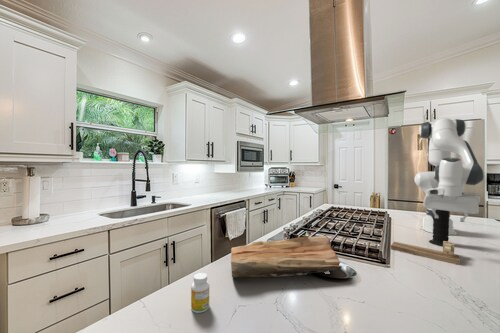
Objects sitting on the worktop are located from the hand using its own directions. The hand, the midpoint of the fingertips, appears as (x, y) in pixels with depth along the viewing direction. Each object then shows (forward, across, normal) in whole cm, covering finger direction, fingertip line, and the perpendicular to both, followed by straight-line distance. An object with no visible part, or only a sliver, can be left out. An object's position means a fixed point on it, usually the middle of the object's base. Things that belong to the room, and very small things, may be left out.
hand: (449, 220), depth 111 cm
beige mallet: (+17, 0, +5) cm, 18 cm away
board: (+17, +9, +8) cm, 21 cm away
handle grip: (+18, +4, -17) cm, 25 cm away
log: (+16, +46, +72) cm, 87 cm away
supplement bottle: (+15, +53, +107) cm, 120 cm away
